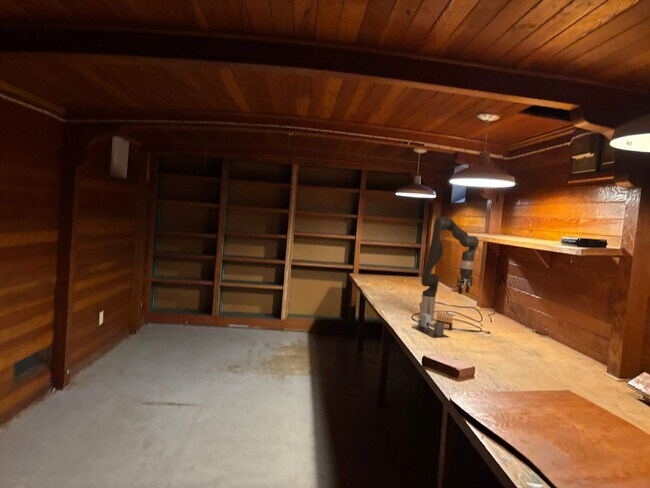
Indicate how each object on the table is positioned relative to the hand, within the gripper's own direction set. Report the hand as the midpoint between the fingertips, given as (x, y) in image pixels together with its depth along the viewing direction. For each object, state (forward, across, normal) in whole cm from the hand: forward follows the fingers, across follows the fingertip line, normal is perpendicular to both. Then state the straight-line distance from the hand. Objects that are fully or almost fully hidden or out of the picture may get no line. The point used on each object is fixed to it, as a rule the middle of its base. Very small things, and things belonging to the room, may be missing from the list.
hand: (463, 293), depth 252 cm
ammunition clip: (+27, -4, -13) cm, 31 cm away
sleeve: (+24, +11, -17) cm, 32 cm away
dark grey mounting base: (+27, +13, -13) cm, 32 cm away
